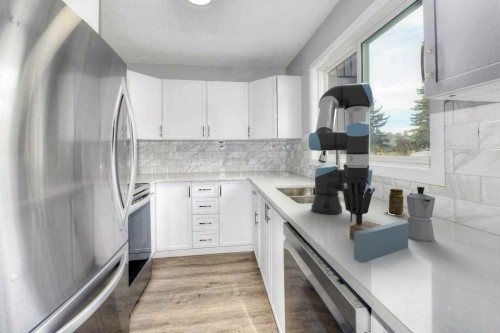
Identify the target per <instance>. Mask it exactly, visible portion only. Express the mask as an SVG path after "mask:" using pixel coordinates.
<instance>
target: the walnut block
mask: <svg viewBox="0 0 500 333" xmlns="http://www.w3.org/2000/svg"><path fill="white" fill-rule="evenodd" d="M381 225H382V224H380V223H377V222H376V223H375V222H372V221H367V220H366V221H362V223H361V224H354V225H352V224H351V225H349V240H351V241H354V233H355V231H360V230H364V229H368V228H372V227H376V226H381Z"/></svg>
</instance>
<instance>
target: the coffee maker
mask: <svg viewBox="0 0 500 333" xmlns="http://www.w3.org/2000/svg"><path fill="white" fill-rule="evenodd" d="M416 190H417V193H411V192H410V193H409V194H407V195H406V202H407V203H406V204H407V212H408V213H407V214H408V215H409V217H407V222H409V236H408V239H410V240H413V241H418V242H428V243H429V242H430V243H431V242H433V241H435V235H434V233H435V232H434V228H433V221H432V219H431V218H432V217H433V212H434V207H435V202H436V201H435V200H436V198H435V196H432V195H430V194H429V195H428V194H426V193H424V192H425V186H416Z"/></svg>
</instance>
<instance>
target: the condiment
mask: <svg viewBox="0 0 500 333" xmlns="http://www.w3.org/2000/svg"><path fill="white" fill-rule="evenodd" d="M388 211H389V213H391V214H395V215H394V217H395V216H396V217H402V216H403V215H402V214H403V213H404V192H403V189H402V188H401V189H400V188H390V190H389V195H388ZM388 211H386V212H384V213H383V214H385V215H389V216H391V215H390V214H388Z"/></svg>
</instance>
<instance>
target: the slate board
mask: <svg viewBox="0 0 500 333" xmlns="http://www.w3.org/2000/svg"><path fill="white" fill-rule="evenodd" d="M380 225H381V226H376V227H372V228H368V229H364V230H360V231H355V233H354V243H353V244H354V247H353V253H354V254H353V259H354V260H355V261H357V262H359V263H365V262H368V261H372V260H375V259H378V258H380V257H383V256H386V255H389V254H392V253H395V252H399V251H402V250H405V249H407V248H409V238H408V236H409V222H408V221H404V220H398V221H394V222H389V223H385V224H380Z"/></svg>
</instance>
